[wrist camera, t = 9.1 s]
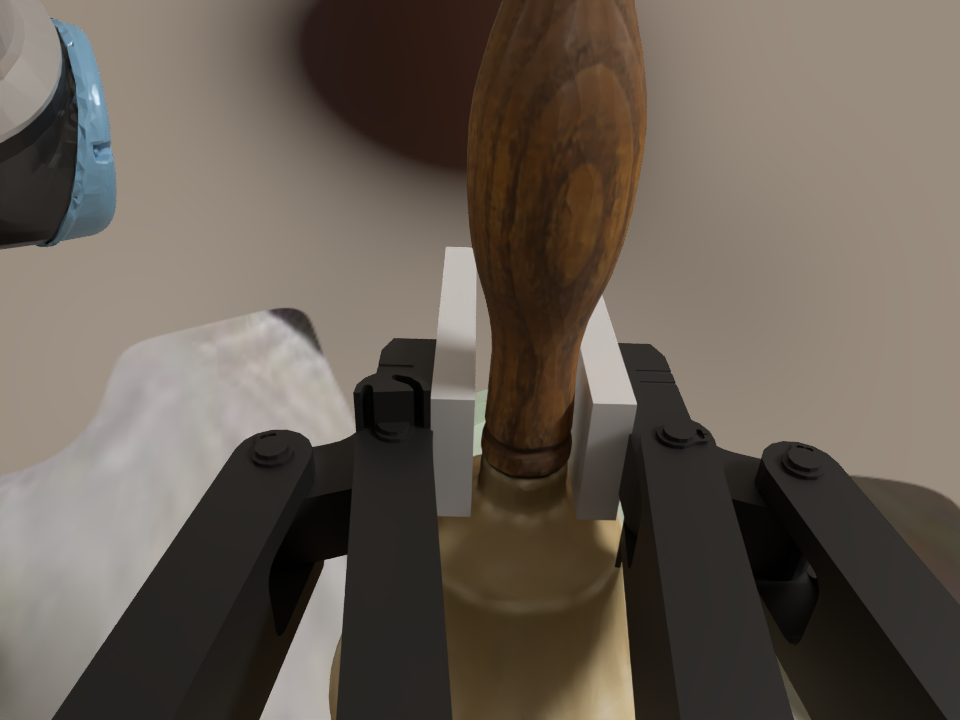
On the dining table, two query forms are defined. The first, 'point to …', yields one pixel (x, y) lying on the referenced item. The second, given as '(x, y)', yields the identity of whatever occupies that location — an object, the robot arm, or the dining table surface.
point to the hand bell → (542, 365)
